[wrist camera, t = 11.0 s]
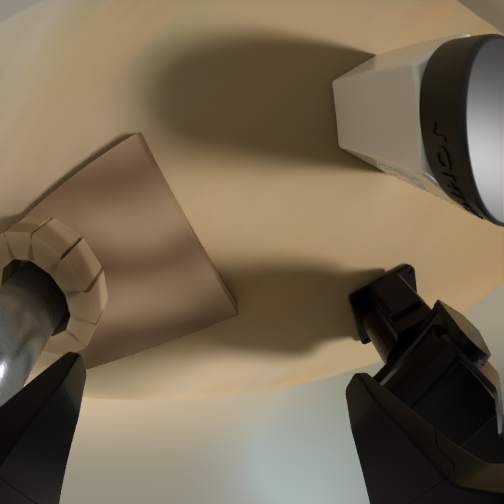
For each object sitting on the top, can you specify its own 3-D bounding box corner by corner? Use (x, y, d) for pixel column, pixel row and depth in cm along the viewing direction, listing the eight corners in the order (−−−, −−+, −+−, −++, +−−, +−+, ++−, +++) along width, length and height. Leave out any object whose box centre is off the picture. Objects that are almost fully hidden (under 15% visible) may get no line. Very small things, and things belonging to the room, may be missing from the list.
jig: (237, 305, 23) (240, 340, 19) (83, 362, 25) (71, 393, 21) (140, 132, 17) (119, 136, 13) (-5, 246, 18) (-32, 268, 15)
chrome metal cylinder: (87, 284, 20) (10, 424, 8) (60, 315, 21) (-3, 438, 9) (42, 239, 18) (-66, 354, 6) (20, 276, 19) (-64, 384, 7)
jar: (307, 134, 18) (420, 164, 7) (351, 37, 15) (474, -14, 4) (406, 188, 20) (523, 257, 9) (441, 102, 17) (566, 121, 6)
